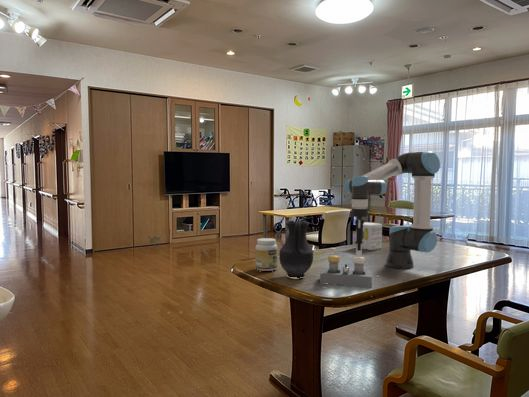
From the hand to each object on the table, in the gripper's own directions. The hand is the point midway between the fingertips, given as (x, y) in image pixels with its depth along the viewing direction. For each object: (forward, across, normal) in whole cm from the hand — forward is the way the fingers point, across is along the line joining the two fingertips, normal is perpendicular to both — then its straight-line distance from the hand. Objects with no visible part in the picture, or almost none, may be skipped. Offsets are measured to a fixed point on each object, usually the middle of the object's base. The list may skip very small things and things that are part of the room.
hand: (358, 256), depth 190 cm
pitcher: (+13, -2, -31) cm, 34 cm away
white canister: (+13, -95, +5) cm, 96 cm away
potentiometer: (+8, +2, -6) cm, 10 cm away
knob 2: (+8, 0, 0) cm, 8 cm away
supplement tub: (+13, -15, -50) cm, 54 cm away
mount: (+13, 0, -6) cm, 14 cm away
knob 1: (+8, 0, -12) cm, 14 cm away
